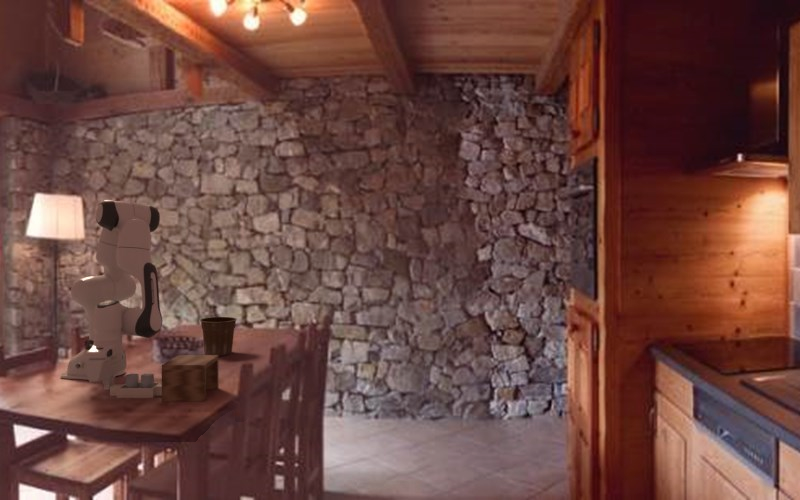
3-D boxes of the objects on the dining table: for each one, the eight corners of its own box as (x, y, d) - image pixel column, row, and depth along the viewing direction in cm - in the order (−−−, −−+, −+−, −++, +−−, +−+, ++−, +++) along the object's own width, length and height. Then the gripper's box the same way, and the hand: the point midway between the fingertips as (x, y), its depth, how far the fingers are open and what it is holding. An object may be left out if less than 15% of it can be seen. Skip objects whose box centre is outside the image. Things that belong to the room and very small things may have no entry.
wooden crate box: (161, 401, 188) (161, 365, 187) (179, 388, 204) (178, 355, 203) (204, 401, 188) (204, 365, 188) (218, 388, 204) (218, 355, 204)
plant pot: (244, 352, 266) (244, 318, 266) (216, 359, 252) (216, 322, 252) (220, 349, 275) (220, 315, 274) (192, 354, 261) (192, 319, 261)
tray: (106, 398, 191) (106, 378, 191) (117, 391, 199) (117, 372, 199) (163, 397, 192) (163, 377, 191) (172, 391, 200) (172, 372, 199)
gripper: (113, 342, 205) (113, 381, 205) (83, 354, 184) (83, 396, 185) (131, 342, 205) (131, 380, 205) (102, 354, 184) (103, 396, 185)
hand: (108, 388), depth 195 cm, fingers closed
